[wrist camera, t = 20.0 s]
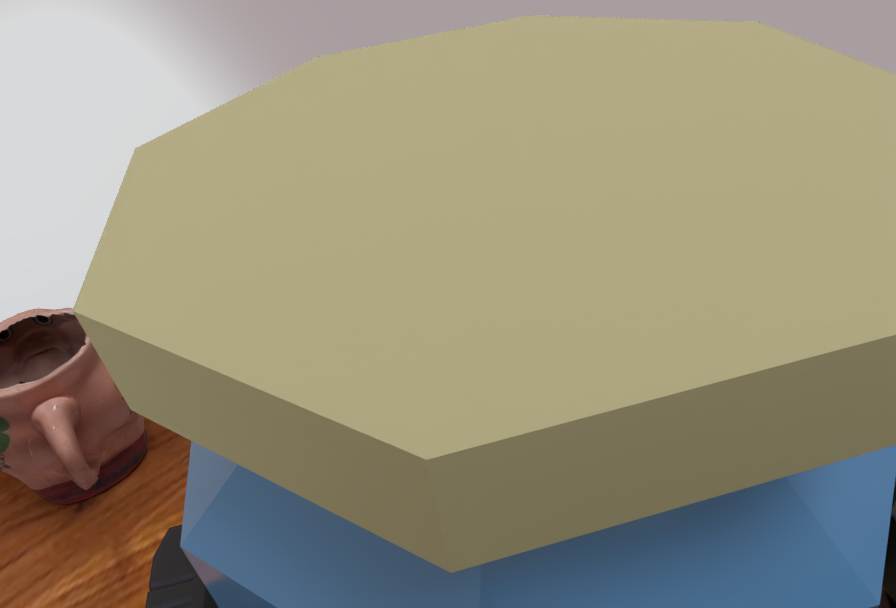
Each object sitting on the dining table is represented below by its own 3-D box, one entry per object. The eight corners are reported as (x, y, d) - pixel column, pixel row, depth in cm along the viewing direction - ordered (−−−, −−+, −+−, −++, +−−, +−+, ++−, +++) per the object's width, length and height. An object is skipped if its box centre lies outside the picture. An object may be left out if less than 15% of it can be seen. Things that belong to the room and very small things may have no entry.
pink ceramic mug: (216, 491, 55) (150, 368, 46) (66, 593, 49) (-41, 472, 40) (129, 380, 67) (66, 267, 59) (2, 449, 62) (-88, 335, 53)
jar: (845, 760, 15) (1266, 90, 6) (531, 1158, 11) (286, 1057, 2) (556, 496, 21) (537, -17, 12) (295, 690, 17) (-19, 156, 8)
